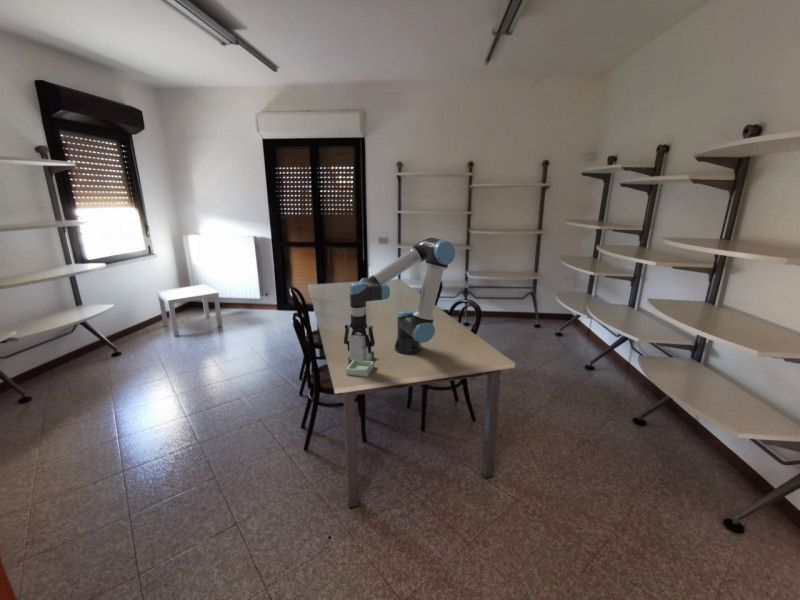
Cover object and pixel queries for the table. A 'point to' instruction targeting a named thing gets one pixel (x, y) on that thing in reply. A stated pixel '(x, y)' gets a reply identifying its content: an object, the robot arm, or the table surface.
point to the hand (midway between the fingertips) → (359, 357)
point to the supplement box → (357, 347)
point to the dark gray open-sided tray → (365, 359)
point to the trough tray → (360, 368)
